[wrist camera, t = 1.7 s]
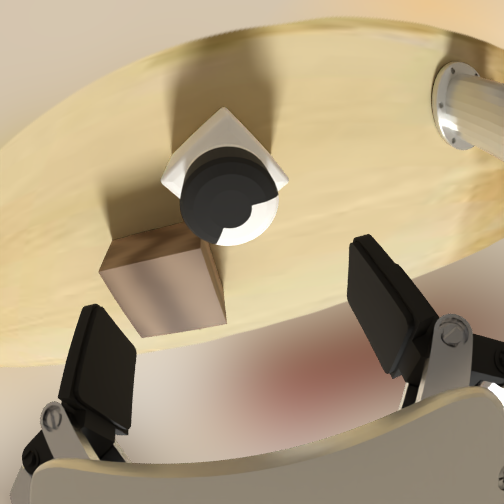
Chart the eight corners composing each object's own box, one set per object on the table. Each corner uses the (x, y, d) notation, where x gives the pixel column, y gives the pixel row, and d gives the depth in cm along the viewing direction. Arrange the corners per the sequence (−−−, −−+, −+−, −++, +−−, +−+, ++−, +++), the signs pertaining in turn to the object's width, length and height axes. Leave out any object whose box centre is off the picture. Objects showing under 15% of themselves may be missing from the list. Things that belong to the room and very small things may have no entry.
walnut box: (201, 216, 29) (200, 248, 25) (223, 288, 36) (226, 323, 31) (113, 239, 29) (98, 271, 24) (147, 303, 36) (141, 337, 31)
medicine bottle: (170, 156, 25) (145, 212, 15) (223, 105, 22) (235, 123, 13) (220, 201, 28) (228, 276, 19) (272, 156, 26) (312, 210, 17)
